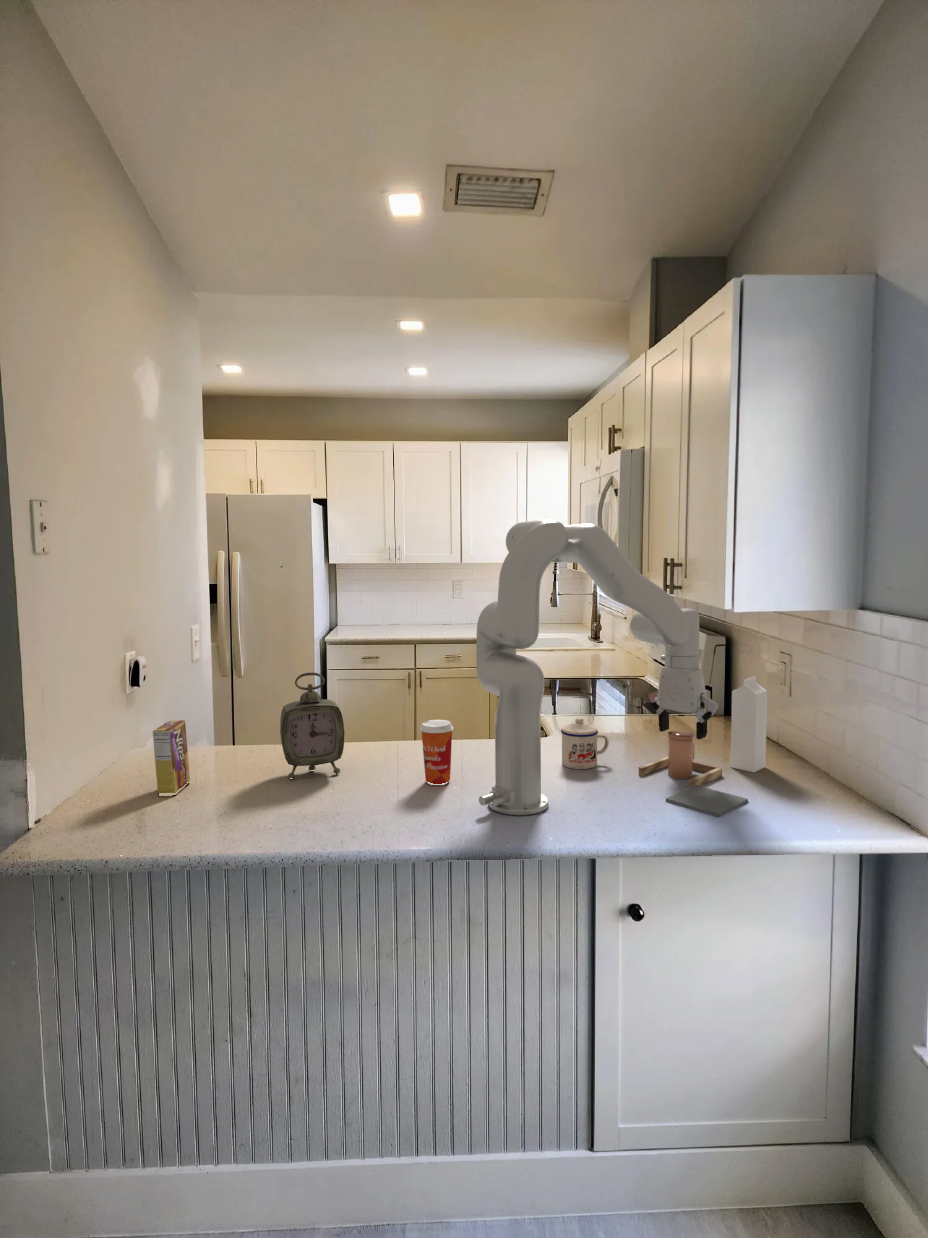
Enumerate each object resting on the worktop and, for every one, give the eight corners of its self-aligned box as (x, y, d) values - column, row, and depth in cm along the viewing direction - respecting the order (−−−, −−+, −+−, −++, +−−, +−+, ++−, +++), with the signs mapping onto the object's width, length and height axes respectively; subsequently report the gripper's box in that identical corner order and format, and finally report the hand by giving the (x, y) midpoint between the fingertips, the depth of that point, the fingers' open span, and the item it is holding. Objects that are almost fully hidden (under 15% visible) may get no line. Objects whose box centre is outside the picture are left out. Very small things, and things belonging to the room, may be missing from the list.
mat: (718, 816, 137) (718, 814, 137) (665, 801, 146) (665, 798, 146) (747, 801, 145) (748, 799, 145) (695, 787, 154) (695, 785, 154)
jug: (684, 781, 159) (685, 738, 158) (662, 775, 163) (662, 733, 162) (702, 773, 164) (703, 732, 163) (680, 768, 168) (681, 727, 167)
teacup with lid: (566, 771, 167) (566, 723, 166) (556, 760, 176) (556, 715, 175) (614, 768, 169) (614, 721, 168) (602, 757, 178) (602, 712, 177)
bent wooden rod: (692, 789, 153) (692, 781, 153) (638, 774, 164) (638, 767, 164) (723, 775, 162) (723, 768, 162) (670, 762, 173) (670, 755, 172)
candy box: (172, 783, 163) (168, 720, 162) (190, 783, 163) (187, 719, 162) (156, 797, 154) (151, 730, 153) (175, 796, 154) (171, 729, 153)
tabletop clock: (283, 783, 162) (279, 677, 160) (281, 771, 171) (277, 671, 168) (345, 776, 167) (342, 673, 164) (340, 765, 175) (337, 667, 173)
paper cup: (415, 784, 159) (413, 725, 158) (432, 775, 166) (430, 717, 165) (444, 789, 156) (443, 728, 154) (460, 779, 162) (459, 721, 161)
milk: (765, 767, 168) (768, 677, 166) (754, 773, 164) (757, 681, 161) (741, 762, 172) (743, 674, 170) (729, 767, 168) (732, 677, 166)
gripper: (640, 660, 164) (641, 731, 166) (708, 668, 151) (708, 744, 153) (658, 656, 169) (659, 724, 171) (725, 663, 156) (725, 737, 158)
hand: (682, 734), depth 162 cm, fingers open, 9 cm apart
